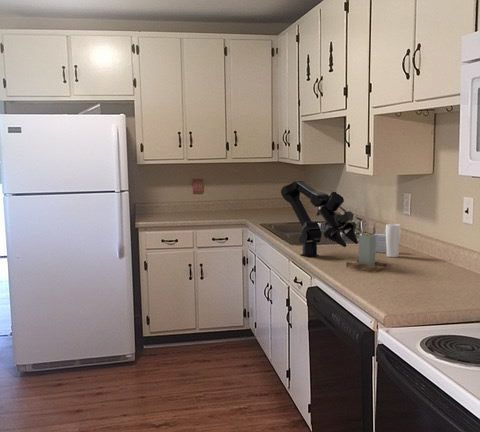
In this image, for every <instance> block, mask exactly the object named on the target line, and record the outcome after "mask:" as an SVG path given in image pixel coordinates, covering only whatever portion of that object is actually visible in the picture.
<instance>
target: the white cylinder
mask: <svg viewBox="0 0 480 432" xmlns="http://www.w3.org/2000/svg"><path fill="white" fill-rule="evenodd" d="M401 231H402V225H401V224H400V223H386V224H385V234H386V249H387V253H386V257H387V258H398V257H399V251H400V241H401V236H402V235H401V233H402V232H401Z"/></svg>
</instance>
